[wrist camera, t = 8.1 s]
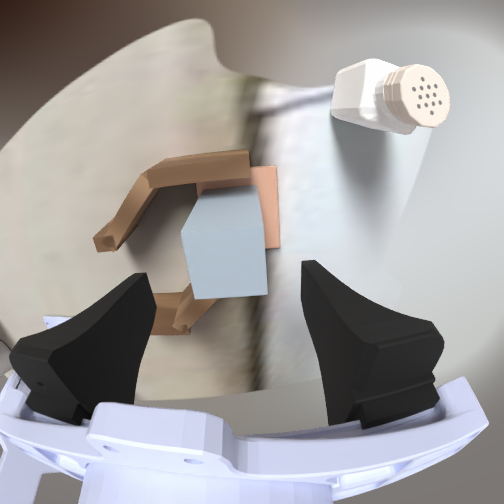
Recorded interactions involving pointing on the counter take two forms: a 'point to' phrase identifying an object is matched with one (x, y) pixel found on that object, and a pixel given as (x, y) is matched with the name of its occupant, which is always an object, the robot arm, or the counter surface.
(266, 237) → the coaster
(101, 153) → the counter surface
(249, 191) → the slate block
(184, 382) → the counter surface
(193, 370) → the counter surface
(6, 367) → the flask
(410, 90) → the pepper shaker
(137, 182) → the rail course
